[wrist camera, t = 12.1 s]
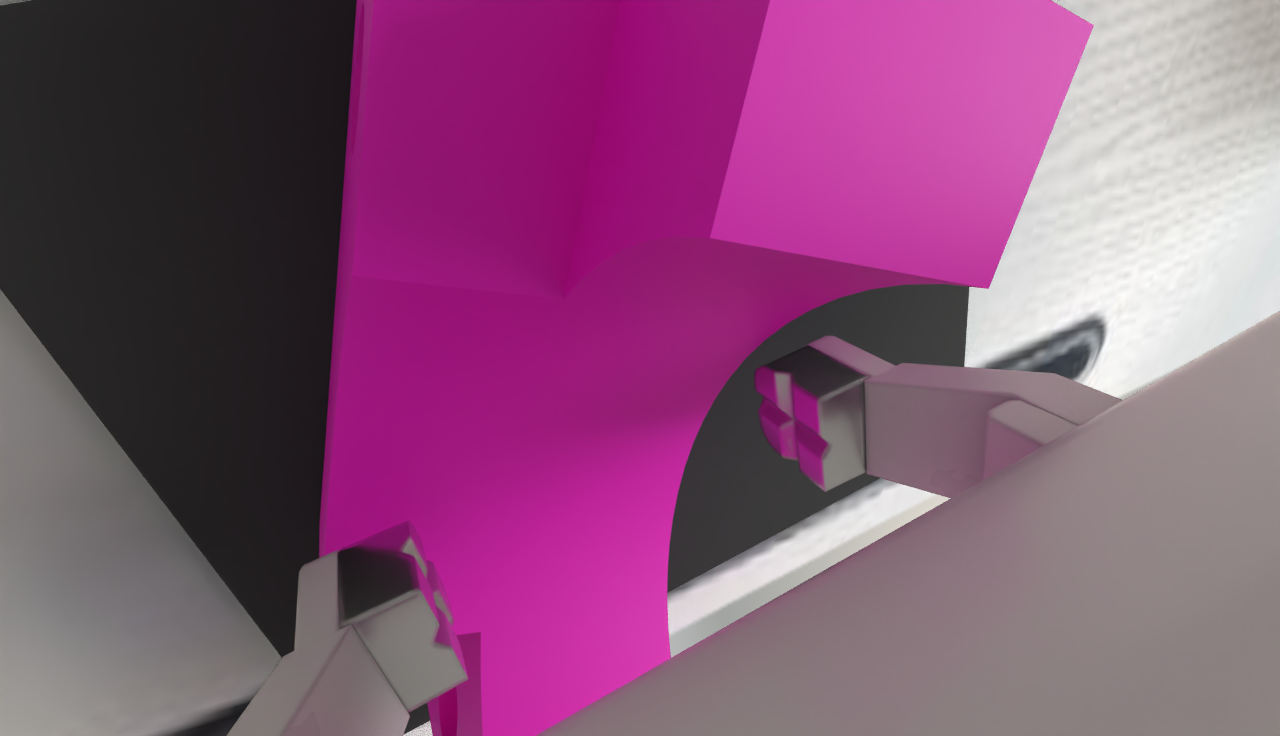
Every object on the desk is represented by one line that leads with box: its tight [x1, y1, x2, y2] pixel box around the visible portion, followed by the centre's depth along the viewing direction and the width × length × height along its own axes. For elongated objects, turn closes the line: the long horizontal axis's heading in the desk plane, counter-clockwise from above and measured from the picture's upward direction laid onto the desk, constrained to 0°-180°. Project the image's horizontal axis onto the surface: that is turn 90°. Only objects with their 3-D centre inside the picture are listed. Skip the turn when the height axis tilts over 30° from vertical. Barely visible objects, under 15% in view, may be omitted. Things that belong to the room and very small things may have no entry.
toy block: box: [319, 0, 1094, 736], centre depth 10 cm, size 15×6×8 cm, turn 167°
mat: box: [0, 0, 969, 735], centre depth 14 cm, size 20×16×1 cm
